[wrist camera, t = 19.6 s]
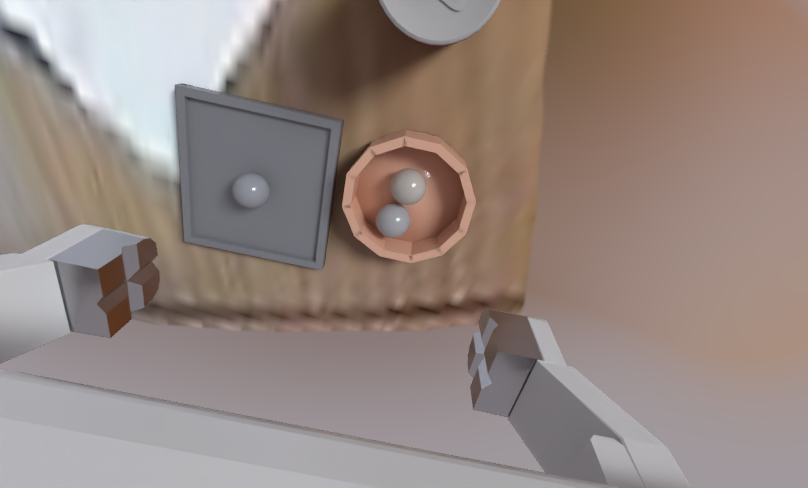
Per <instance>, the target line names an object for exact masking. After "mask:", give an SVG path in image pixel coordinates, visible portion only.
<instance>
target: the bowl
mask: <svg viewBox="0 0 808 488" xmlns="http://www.w3.org/2000/svg"><path fill="white" fill-rule="evenodd" d="M405 168H411V169H415V170H417V171H418V172H420V173H421V174H422V175H423V177H424V179H425V181H426V192H425V195H424V196H423V198H422V199H421V200H420V201H419V202H417V203H415V204H412V205H404V204H401V203H399V202H398V201H396V200H395V199H394V197H393V196H392V194H391V191H390V183H391V180H392V178H393V176H394V175H395V174H396V173H397V172H398V171H400V170H402V169H405ZM389 203H397V204H400V205H402V206H403V207H405V208H406V209H407V211H408V213H409V215H410V226H409V228H408V230H407V231H406V232H405V233H404V234H403V235H402V236H400V237H396V238H390V237H387V236H384V235H383V234H382V233H381V232H380V231H379V230H378V228H377V226H376V215H377V213H378V211H379V209H380V208H381V207H382V206H384V205H386V204H389ZM475 204H476V200H475V197H474V193H473V189H472V185H471V181H470V177H469V174H468V170H467V167H466V163H465V161H464V160H463V159H462V158H461V157H460V156H459V155H458V154H457V153H456V151H455V150H454V149H453V148H452V147H451V146H449V145H448V144H447V143H446V142H444V141H443V140H442V139H441V138H440V137H436V136H433V135H430V134H427V133H424V132H418V131H409V130H404V131H401V132H396V133H392V134H389V135H386V136H384V137H382V138H379V139H376V140H374V141H373V142H372V143H371V144H370V145H369V146H368V147H367V149H366V150H365V151H364V152H363V153H362V154H361V156H360V157H359V158H358V159H357V160H356V162H355V163H354V164H353V165H352V167H351V168H350V170H349V171H348V173H347V174H346V181H345V188H344V195H343V202H342V208H343V211H344V213H345V215H346V218H347V220H348V222H349V225H350V227H351V230H352V232H353V234H354V236H355V237H356V238H357V239H358V240H360V241H361V242H362V243H363V244H365V245H366V246H367V247H368V248H370V249H371V250H372V251H373V252H375V253H376V254H377V255H378V256H380V257H385V258H390V259H394V260H399V261H404V262H409V263H413V262H417V261H421V260H425V259H429V258H433V257H437V256H441V255H443V254H444V253H445V252H446V251H447V250H449V249H450V248H451V247H452V246H453V245H454V244H455V243H456V242H457V241H458V240H460V239H461V238H462V237H463V236H464V235H465V234H466V233H467V229H468V226H469V223H470V220H471V217H472V214H473V210H474V207H475Z"/></svg>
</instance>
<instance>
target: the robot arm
mask: <svg viewBox="0 0 808 488" xmlns="http://www.w3.org/2000/svg"><path fill="white" fill-rule="evenodd" d="M157 255H158V254H157V248H156V243H155V242H154V241H153V240H152V239H151V238H147V237H143V236H138V235H134V234H130V233H125V232H121V231H116V230H112V229H107V228H103V227H98V226H93V225H79V226H77V227H75V228H73V229H71V230H69V231H67V232H65V233H63V234H61V235H59V236H57V237H55V238H53V239H51V240H49V241H47V242H45V243H43V244H41V245H39V246H37V247H35V248H33V249H31V250H29V251H27V252H25V253H22V254H16V253H10V254H4V255H0V363H3V362H5V361H7V360H10V359H12V358H14V357H17V356H19V355H21V354H24V353H26V352H28V351H30V350H33V349H35V348H38V347H40V346H42V345H45V344H47V343H49V342H51V341H54V340H56V339H58V338H61V337H63V336H65V335H68V334H70V333H71V332H70V331H72V332H78V333H84V334H90V335H96V336H101V337H107V338H111V337H112V336H113V335H114V334H115V333H117V332H118V331H119V330H120V329H121V328H122V327H123V326H124V325H125V324H127V323H128V322H129V321H130V320H131V312H133V311H136V310H138V309H141V308H144V307H145V306H146V305H148V304H149V303H150V302H151V301H152V300H153V298H154V296H155V294H156V292H157V290H158V288H159V282H160V275H159V270H158V269H157V267H156V266H155V265H154V264H153V262H152V261H153V260H154V259H155V258H156V256H157ZM479 327H480V331H479V332H478V333H476V334H475V335H473V338H472V341H471V344H470V348H469V353H468V372H469V374H470V375H471V376H472V377H473V381H472V384H471V386H470V389H471V397H472V404H473V410H477V411H482V412H486V413H491V414H495V415H499V416H504V417H508V420H509V421H510V423H511V424H512V425H513V427H514V428H515V430H516V431H517V433H518V434H519V435H520V437H521V438H522V440H523V441H524V443H525V444H526V446H527V447H528V448H529V450H530V451H531V453H532V454H533V455H534V457H535V458H536V460H537V461H538V463H539V464H540V466H541V467H542V468H543V470H544V471H545V473H543V472H538V471H533V470H528V469H522V468H517V467H512V466H507V465H501V464H496V463H491V462H485V461H480V460H474V459H469V458H464V457H459V456H453V455H447V454H442V453H437V452H432V451H427V450H422V449H417V448H412V447H406V446H401V445H396V444H391V443H386V442H381V441H376V440H370V439H365V438H360V437H355V436H350V435H345V434H339V433H334V432H329V431H324V430H319V429H314V428H309V427H303V426H298V425H293V424H287V423H283V422H277V421H272V420H267V419H262V418H256V417H251V416H245V415H241V414H235V413H230V412H225V411H220V410H214V409H209V408H204V407H199V406H193V405H188V404H183V403H178V402H172V401H167V400H162V399H156V398H152V397H146V396H141V395H136V394H131V393H125V392H120V391H115V390H110V389H104V388H99V387H93V386H89V385H83V384H78V383H73V382H67V381H62V380H57V379H52V378H47V377H42V376H36V375H31V374H26V373H21V372H16V371H11V370H5V369H0V488H691V487H690V485H689V483H688V482H687V480H686V479H685V477H684V475H683V473H682V472H681V470H680V468H679V467H678V465H677V463H676V461H675V460H674V458H673V456H672V455H671V453H670V451H669V450H668V448H667V447H666V446H665V445H663V444H662V443H661V442H660V441H659V440H658V439H656V438H655V437H654V436H653V435H652V434H650V433H649V432H648V431H647V430H646V429H645V428H644V427H642V426H641V425H640V424H639V423H638V422H636V421H635V420H634V419H633V418H632V417H631V416H630V415H628V414H627V413H626V412H625V411H624V410H622V409H621V408H620V407H619V406H618V405H617V404H615V403H614V402H613V401H612V400H611V399H610V398H608V397H607V396H606V395H605V394H604V393H603V392H601V391H600V390H599V389H598V388H597V387H596V386H594V385H593V384H592V383H591V382H590V381H588V380H587V379H586V378H585V377H584V376H583V375H581V374H580V373H579V372H578V371H577V370H576V369H575V368H573V367H570V366H566V363H565V361H564V359H563V356H562V354H561V352H560V350H559V347H558V345H557V343H556V341H555V338H554V336H553V334H552V332H551V329H550V327H549V325H548V322H547V321H545V320H544V319H540V318H534V317H529V316H521V315H516V314H511V313H505V312H500V311H495V310H489V309H484V311H483V312H482V314H481V316H480V319H479Z"/></svg>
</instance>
